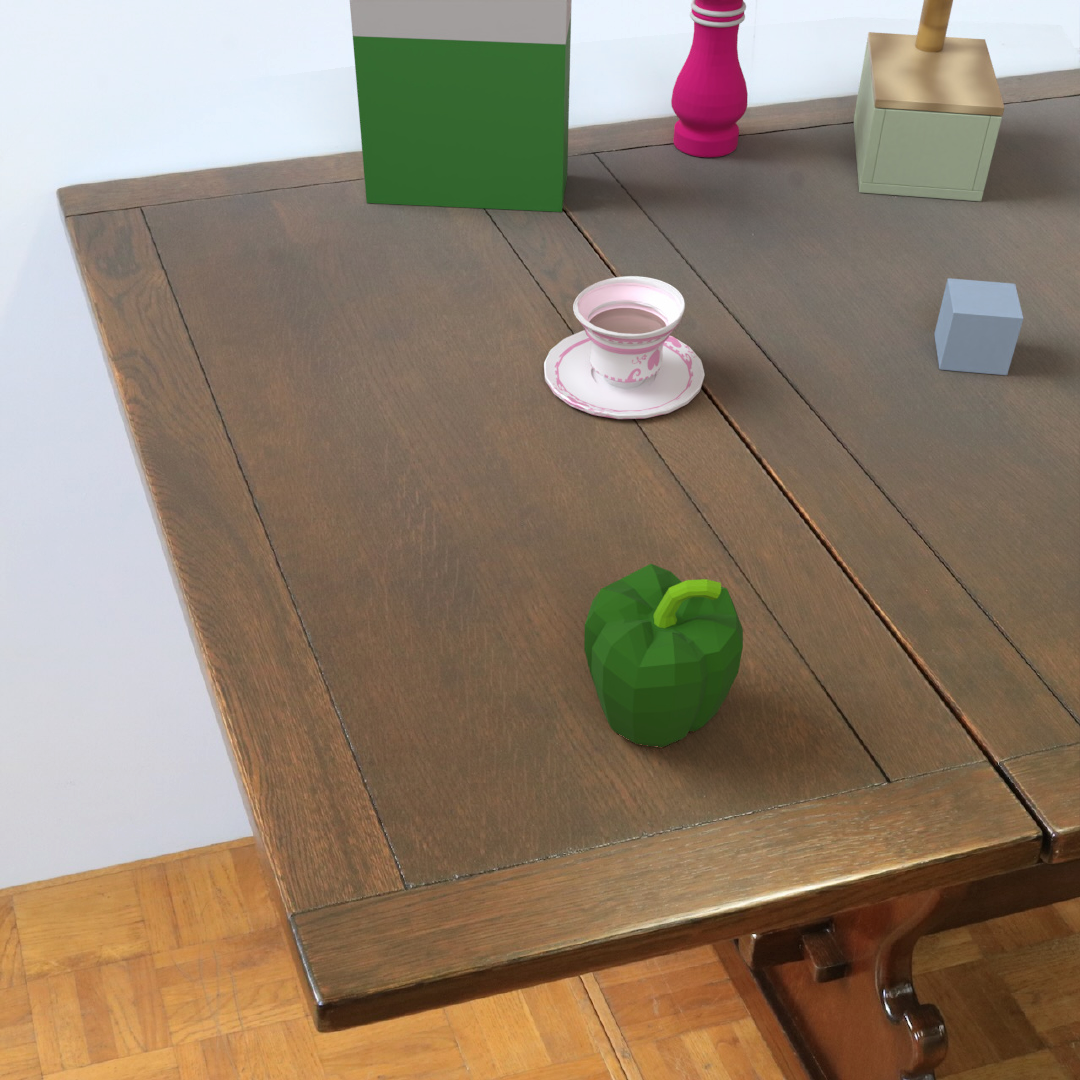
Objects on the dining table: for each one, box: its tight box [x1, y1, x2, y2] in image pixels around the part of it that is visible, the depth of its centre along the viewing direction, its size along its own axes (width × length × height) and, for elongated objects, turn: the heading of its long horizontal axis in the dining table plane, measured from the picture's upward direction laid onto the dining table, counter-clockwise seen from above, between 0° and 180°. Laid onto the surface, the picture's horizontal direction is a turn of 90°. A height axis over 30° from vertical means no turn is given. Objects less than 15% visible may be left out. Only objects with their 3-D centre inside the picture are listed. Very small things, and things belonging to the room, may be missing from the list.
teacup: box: [543, 275, 706, 420], centre depth 97 cm, size 12×12×6 cm
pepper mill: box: [670, 0, 749, 158], centre depth 123 cm, size 7×7×20 cm
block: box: [934, 277, 1025, 376], centre depth 100 cm, size 5×5×5 cm
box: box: [853, 41, 1003, 202], centre depth 125 cm, size 11×16×8 cm
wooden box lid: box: [866, 0, 1006, 117], centre depth 120 cm, size 11×16×6 cm
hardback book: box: [349, 0, 572, 213], centre depth 114 cm, size 18×7×24 cm, turn 85°
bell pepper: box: [583, 563, 744, 748], centre depth 71 cm, size 8×8×10 cm
